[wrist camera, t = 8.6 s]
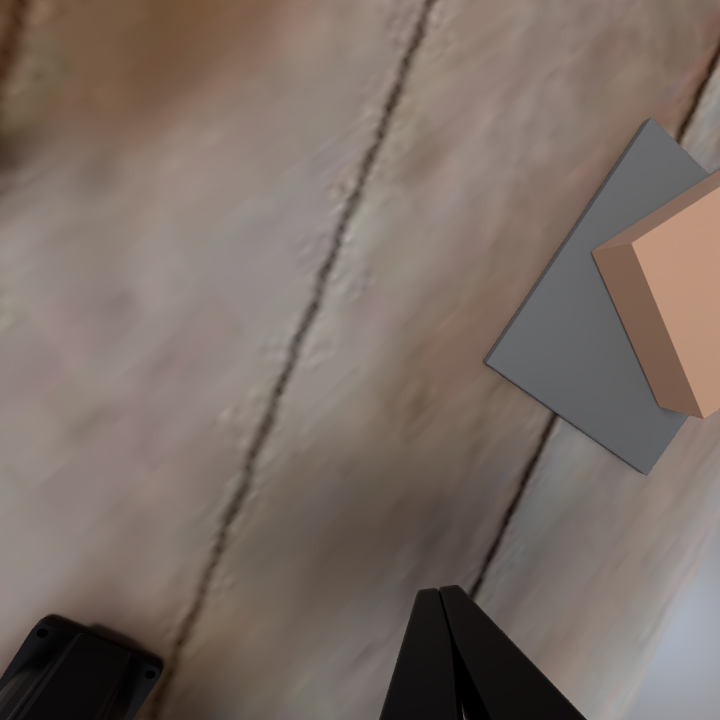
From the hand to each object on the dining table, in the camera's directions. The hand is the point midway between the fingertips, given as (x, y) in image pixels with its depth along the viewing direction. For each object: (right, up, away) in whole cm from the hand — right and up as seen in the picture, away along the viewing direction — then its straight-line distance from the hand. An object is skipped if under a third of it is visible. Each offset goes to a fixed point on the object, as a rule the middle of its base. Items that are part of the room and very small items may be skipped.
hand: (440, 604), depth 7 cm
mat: (+14, +8, +13) cm, 21 cm away
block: (+13, +6, +11) cm, 19 cm away
